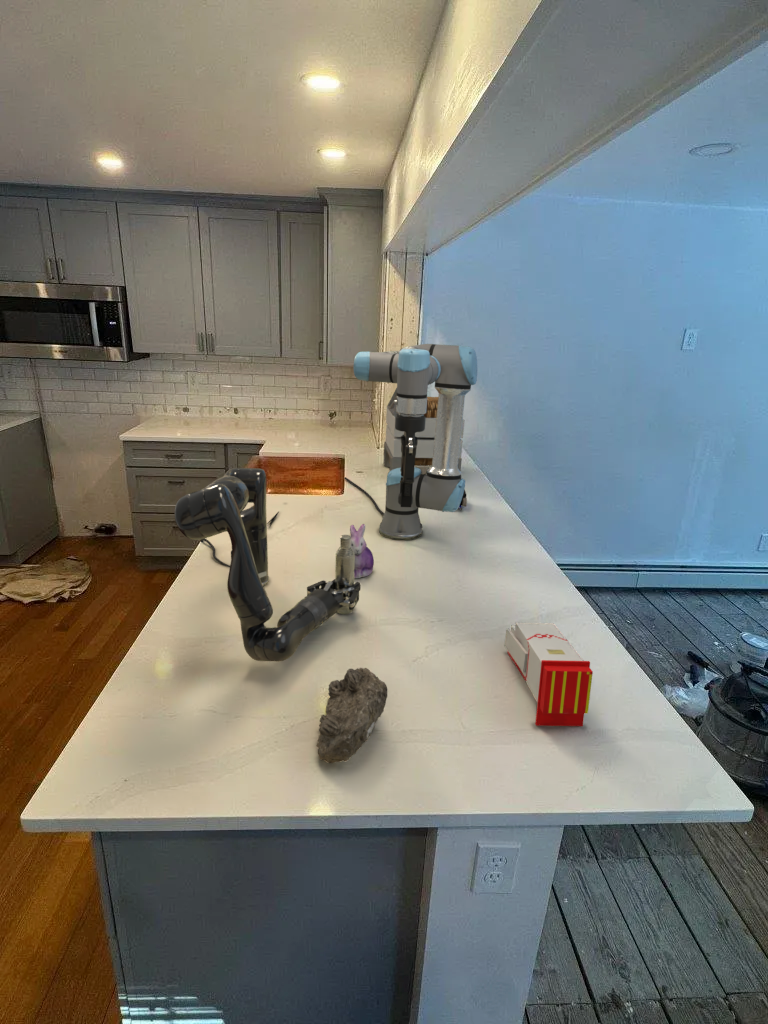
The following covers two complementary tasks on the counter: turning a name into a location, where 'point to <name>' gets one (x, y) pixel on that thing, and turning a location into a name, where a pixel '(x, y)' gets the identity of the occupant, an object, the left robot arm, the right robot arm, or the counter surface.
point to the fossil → (350, 714)
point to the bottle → (344, 568)
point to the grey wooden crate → (424, 438)
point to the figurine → (361, 553)
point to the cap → (400, 499)
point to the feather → (272, 520)
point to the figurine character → (463, 500)
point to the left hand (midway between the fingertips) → (349, 582)
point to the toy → (551, 672)
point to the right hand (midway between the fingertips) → (405, 503)
